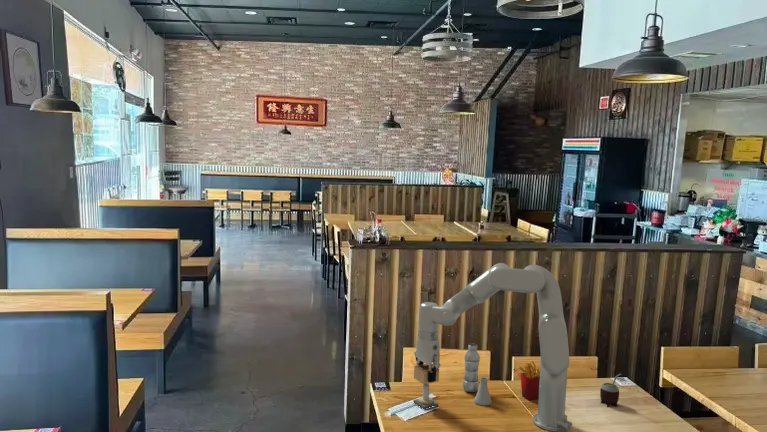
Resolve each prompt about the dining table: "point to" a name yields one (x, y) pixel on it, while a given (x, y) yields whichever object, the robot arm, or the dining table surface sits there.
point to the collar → (424, 373)
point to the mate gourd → (609, 393)
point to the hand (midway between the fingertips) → (426, 377)
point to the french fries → (530, 382)
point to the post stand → (425, 399)
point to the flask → (483, 393)
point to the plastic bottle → (471, 369)
